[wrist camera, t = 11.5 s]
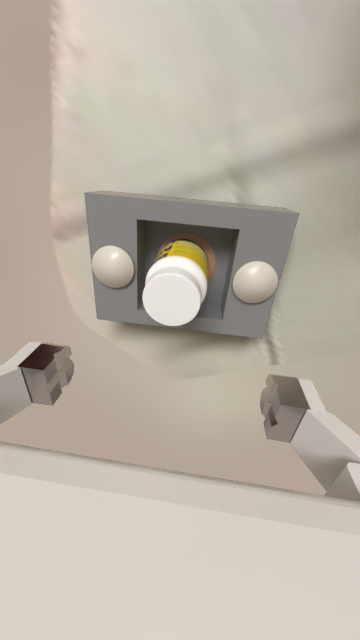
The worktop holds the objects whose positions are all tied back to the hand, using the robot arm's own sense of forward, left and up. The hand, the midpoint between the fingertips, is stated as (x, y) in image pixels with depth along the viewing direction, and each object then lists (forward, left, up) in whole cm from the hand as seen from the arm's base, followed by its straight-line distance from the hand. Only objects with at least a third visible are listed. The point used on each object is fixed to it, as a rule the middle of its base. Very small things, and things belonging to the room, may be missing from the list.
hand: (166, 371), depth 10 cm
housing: (0, 0, -16) cm, 16 cm away
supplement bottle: (+1, 0, -16) cm, 16 cm away
